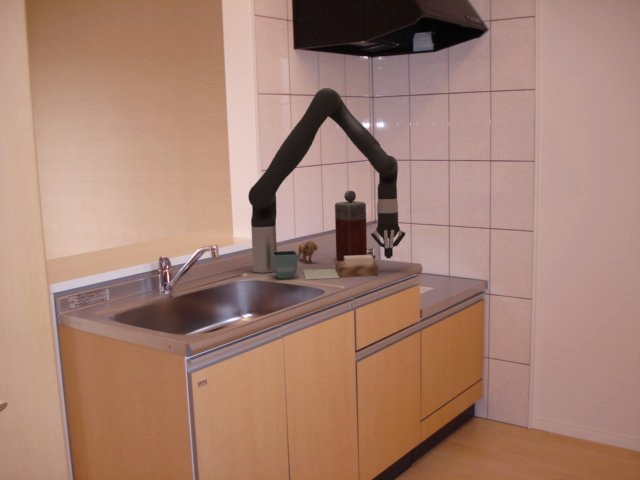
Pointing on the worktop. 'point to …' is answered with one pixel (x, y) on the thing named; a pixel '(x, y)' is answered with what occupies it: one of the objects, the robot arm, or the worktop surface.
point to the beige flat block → (358, 260)
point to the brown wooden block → (355, 269)
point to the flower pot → (285, 263)
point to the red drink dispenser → (350, 227)
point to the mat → (320, 274)
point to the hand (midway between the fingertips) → (388, 257)
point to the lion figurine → (307, 250)
